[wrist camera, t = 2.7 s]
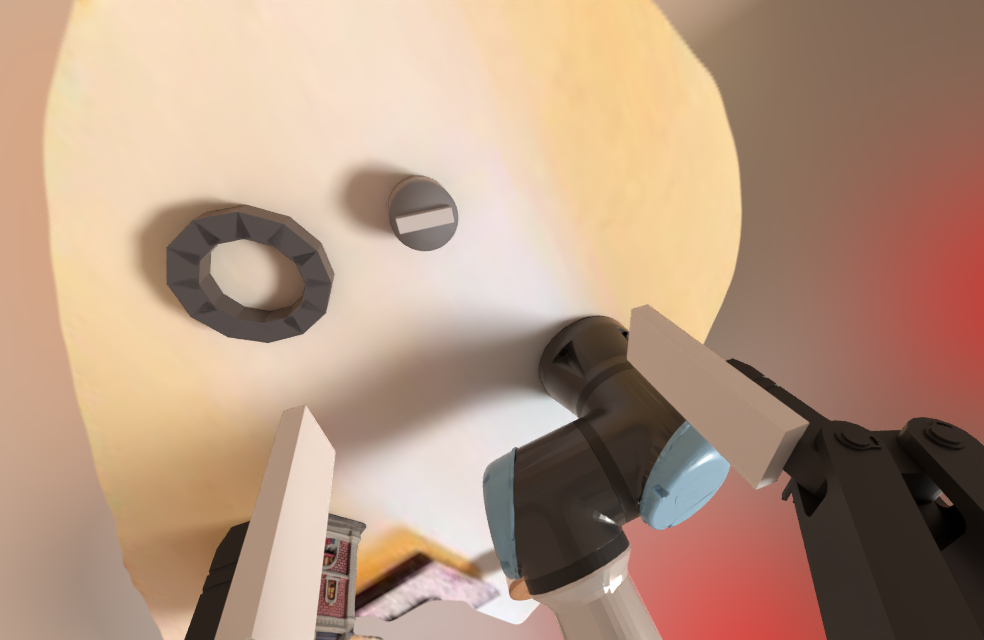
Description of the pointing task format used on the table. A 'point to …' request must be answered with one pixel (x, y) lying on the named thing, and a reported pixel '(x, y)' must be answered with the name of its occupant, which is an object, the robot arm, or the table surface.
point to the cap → (422, 213)
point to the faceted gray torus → (222, 312)
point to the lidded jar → (518, 589)
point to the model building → (338, 580)
